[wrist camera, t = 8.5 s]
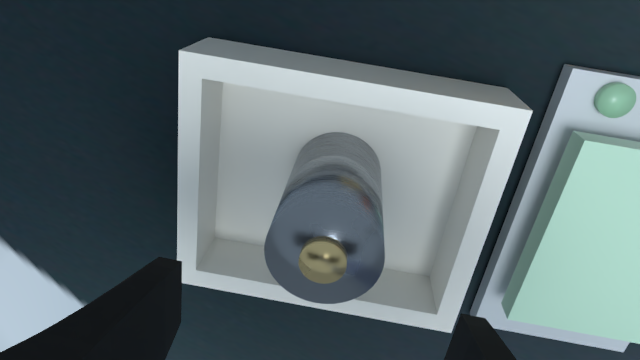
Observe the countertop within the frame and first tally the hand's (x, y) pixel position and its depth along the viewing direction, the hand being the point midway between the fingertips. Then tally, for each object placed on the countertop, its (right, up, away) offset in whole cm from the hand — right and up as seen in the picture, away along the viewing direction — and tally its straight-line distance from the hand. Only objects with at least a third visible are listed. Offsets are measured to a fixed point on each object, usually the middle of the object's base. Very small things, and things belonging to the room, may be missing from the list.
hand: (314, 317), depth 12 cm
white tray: (+1, +4, +8) cm, 9 cm away
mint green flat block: (+11, +1, +6) cm, 13 cm away
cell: (+1, +4, +7) cm, 8 cm away
